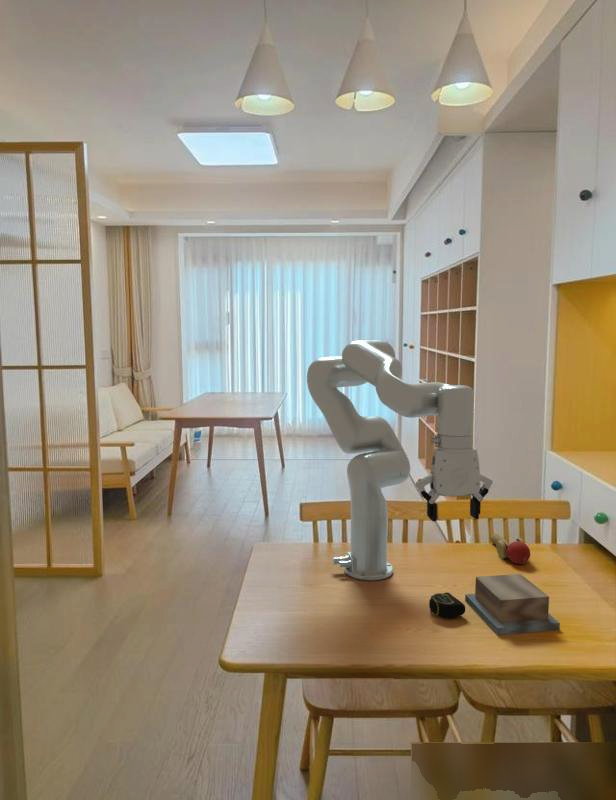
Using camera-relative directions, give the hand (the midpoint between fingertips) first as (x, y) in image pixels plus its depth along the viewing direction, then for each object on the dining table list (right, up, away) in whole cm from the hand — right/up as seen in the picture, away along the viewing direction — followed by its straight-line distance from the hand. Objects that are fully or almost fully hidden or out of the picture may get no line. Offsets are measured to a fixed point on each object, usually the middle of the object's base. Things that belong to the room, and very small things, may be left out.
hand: (453, 518), depth 129 cm
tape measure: (-1, -22, +2) cm, 22 cm away
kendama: (+24, -18, +37) cm, 47 cm away
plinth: (+13, -22, +1) cm, 25 cm away
